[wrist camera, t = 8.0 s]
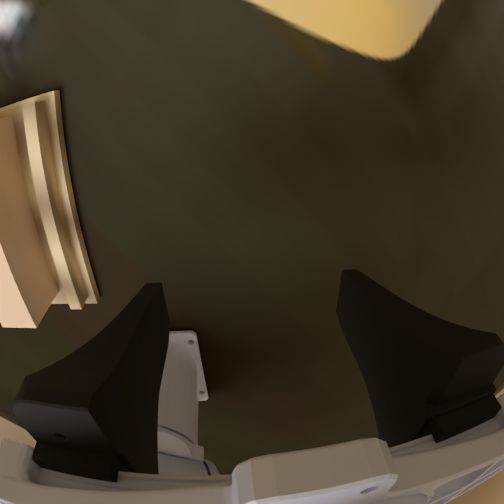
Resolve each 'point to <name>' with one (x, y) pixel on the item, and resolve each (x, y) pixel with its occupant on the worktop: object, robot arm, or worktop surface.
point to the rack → (52, 196)
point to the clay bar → (20, 244)
